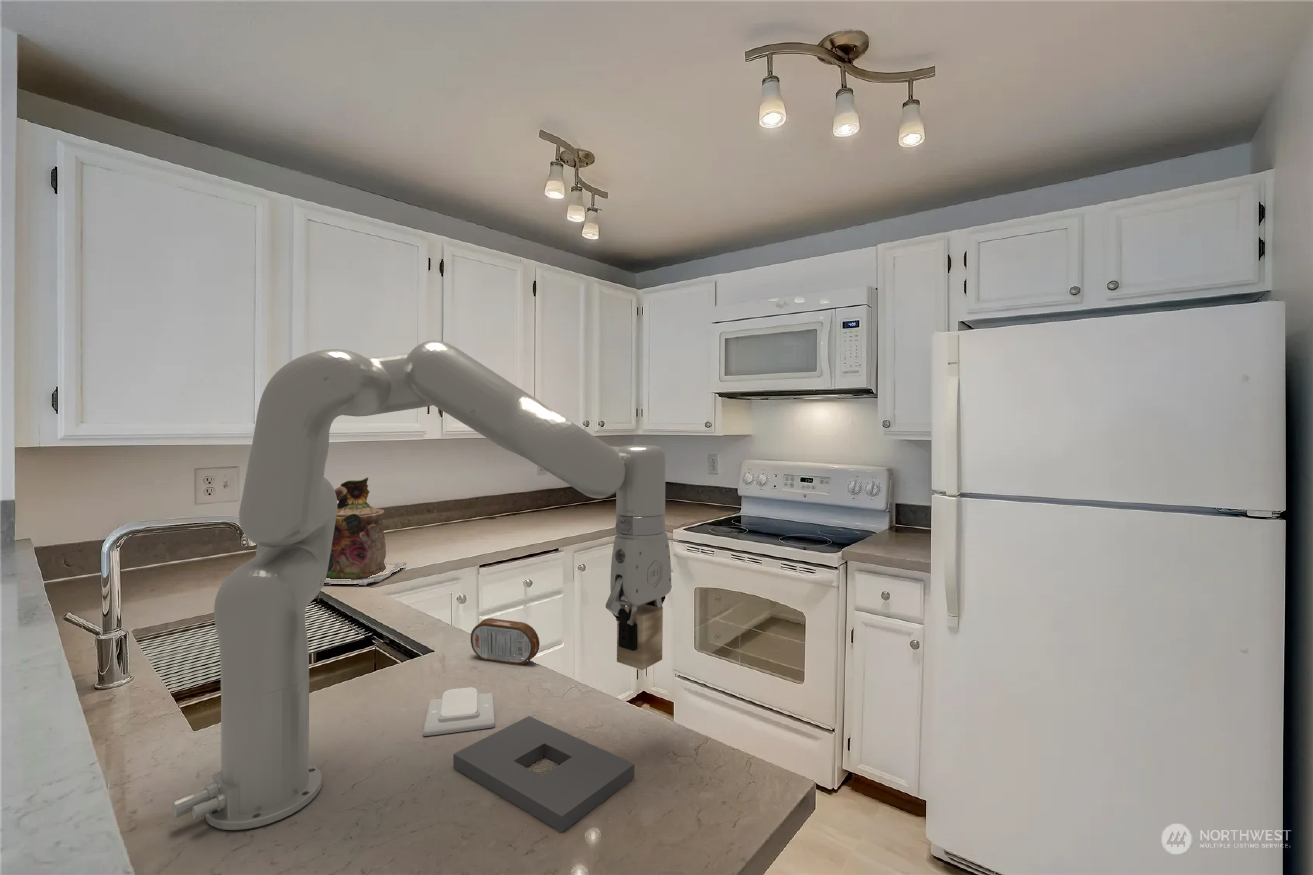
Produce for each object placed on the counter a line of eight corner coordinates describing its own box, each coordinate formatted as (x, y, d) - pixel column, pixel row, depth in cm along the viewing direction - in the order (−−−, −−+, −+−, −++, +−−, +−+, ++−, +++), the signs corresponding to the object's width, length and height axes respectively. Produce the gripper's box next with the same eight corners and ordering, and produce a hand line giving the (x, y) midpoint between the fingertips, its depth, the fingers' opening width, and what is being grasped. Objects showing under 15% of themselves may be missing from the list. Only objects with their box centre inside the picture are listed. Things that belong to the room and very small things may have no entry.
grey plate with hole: (561, 832, 70) (561, 816, 70) (453, 767, 84) (453, 753, 84) (634, 777, 82) (634, 763, 82) (528, 728, 95) (528, 715, 95)
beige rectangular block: (642, 670, 87) (642, 616, 86) (616, 661, 90) (617, 609, 89) (662, 659, 91) (662, 608, 90) (637, 651, 94) (637, 602, 93)
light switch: (493, 678, 107) (495, 705, 95) (492, 701, 107) (494, 731, 95) (430, 684, 104) (423, 714, 92) (429, 708, 104) (423, 741, 92)
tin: (540, 662, 121) (540, 622, 121) (532, 668, 118) (533, 627, 118) (476, 654, 125) (476, 615, 125) (467, 659, 122) (468, 619, 122)
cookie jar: (339, 566, 201) (339, 473, 200) (409, 568, 200) (410, 475, 199) (291, 586, 176) (291, 480, 176) (371, 588, 175) (372, 481, 175)
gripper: (623, 536, 81) (622, 667, 81) (691, 521, 94) (690, 632, 95) (584, 530, 85) (583, 654, 85) (654, 516, 99) (653, 623, 99)
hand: (639, 641), depth 90 cm, fingers closed on beige rectangular block, 5 cm apart
